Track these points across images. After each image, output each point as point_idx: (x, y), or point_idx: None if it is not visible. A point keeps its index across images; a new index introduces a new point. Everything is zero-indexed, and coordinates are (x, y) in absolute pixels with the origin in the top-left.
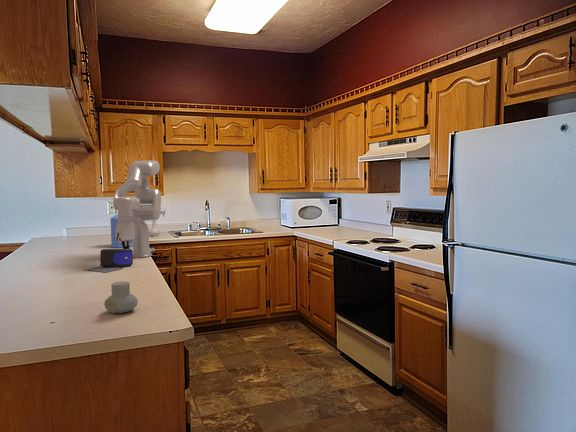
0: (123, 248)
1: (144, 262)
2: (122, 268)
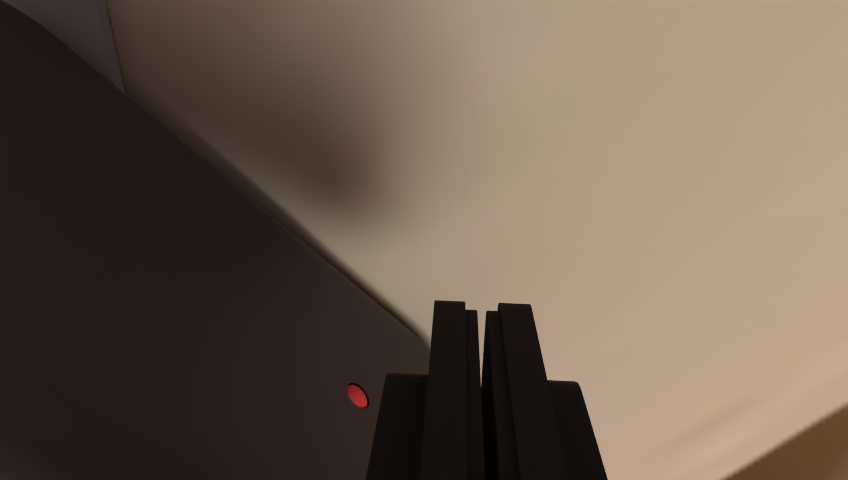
0: (372, 469)
1: (789, 343)
2: None
